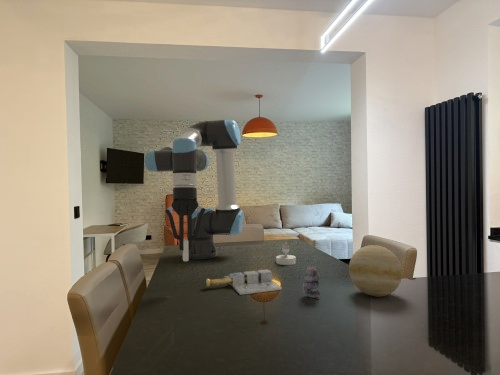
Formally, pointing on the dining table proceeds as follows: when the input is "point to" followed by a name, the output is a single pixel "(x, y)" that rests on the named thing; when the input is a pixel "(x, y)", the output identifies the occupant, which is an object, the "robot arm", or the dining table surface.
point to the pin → (221, 281)
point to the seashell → (311, 282)
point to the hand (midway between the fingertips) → (185, 260)
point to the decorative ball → (375, 270)
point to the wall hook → (285, 256)
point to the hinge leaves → (253, 282)
